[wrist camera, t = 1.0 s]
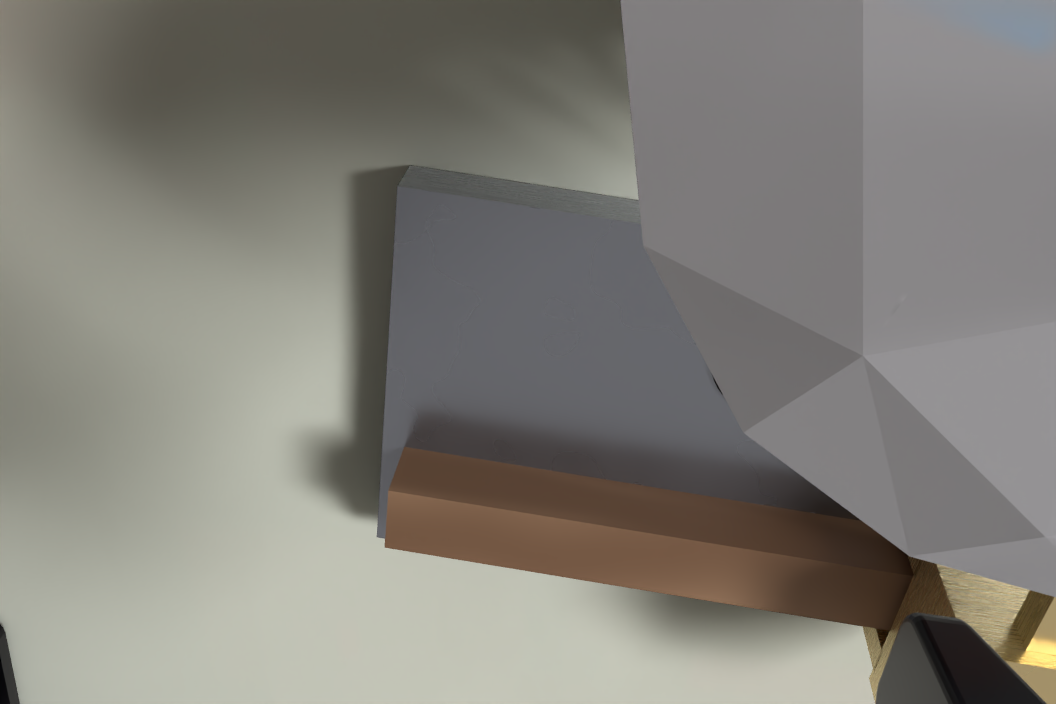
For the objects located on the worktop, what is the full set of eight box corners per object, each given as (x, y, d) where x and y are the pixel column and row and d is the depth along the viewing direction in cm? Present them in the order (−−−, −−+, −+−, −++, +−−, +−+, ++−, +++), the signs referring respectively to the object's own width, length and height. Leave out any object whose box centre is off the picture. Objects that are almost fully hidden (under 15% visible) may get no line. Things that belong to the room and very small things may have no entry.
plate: (1439, 677, 24) (1477, 721, 23) (387, 505, 25) (375, 540, 24) (1705, 365, 20) (1768, 400, 19) (409, 165, 20) (396, 187, 19)
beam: (1452, 714, 23) (1616, 906, 19) (397, 540, 24) (347, 692, 20) (1656, 483, 20) (1907, 661, 16) (415, 288, 21) (359, 411, 17)
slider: (984, 646, 23) (1052, 824, 19) (856, 625, 23) (898, 798, 20) (1106, 403, 20) (1219, 561, 16) (955, 380, 20) (1031, 530, 16)
